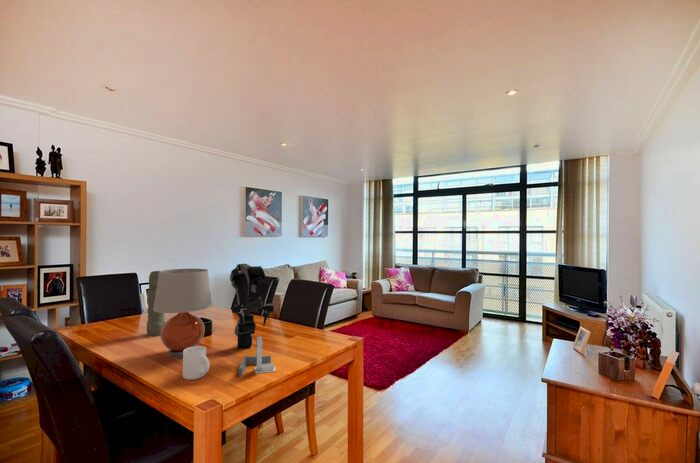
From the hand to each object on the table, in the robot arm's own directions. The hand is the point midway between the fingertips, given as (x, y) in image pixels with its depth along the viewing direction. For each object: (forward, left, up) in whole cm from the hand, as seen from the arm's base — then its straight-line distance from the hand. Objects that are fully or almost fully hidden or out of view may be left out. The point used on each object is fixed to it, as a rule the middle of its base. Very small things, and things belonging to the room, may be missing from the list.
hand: (253, 326), depth 153 cm
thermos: (-58, +38, -13) cm, 71 cm away
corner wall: (+4, -17, -13) cm, 22 cm away
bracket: (+7, -18, -13) cm, 23 cm away
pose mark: (+7, -18, -13) cm, 24 cm away
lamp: (-33, +6, -13) cm, 36 cm away
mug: (-18, -22, -13) cm, 31 cm away
